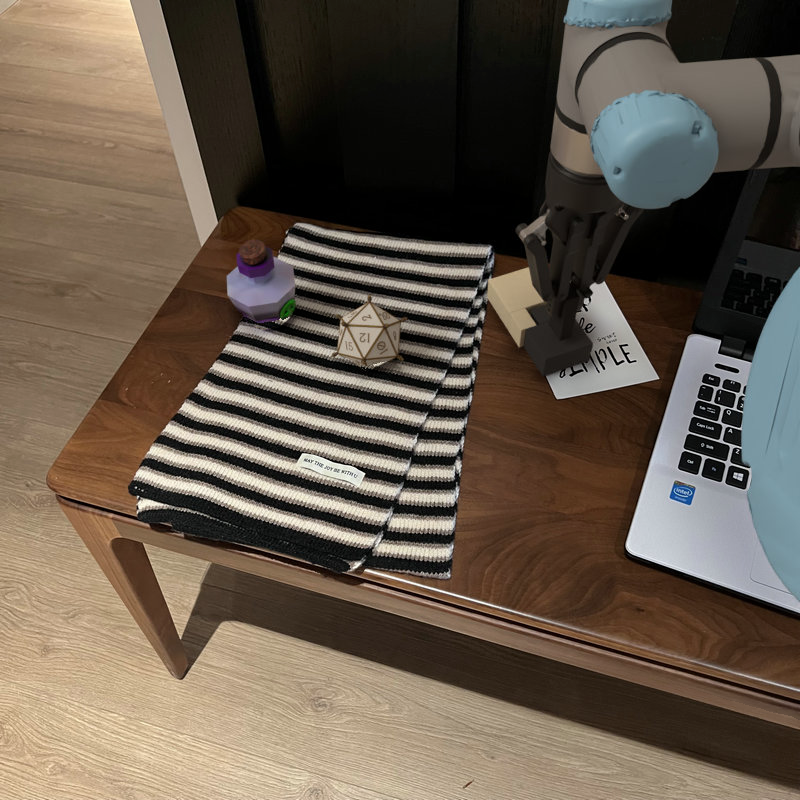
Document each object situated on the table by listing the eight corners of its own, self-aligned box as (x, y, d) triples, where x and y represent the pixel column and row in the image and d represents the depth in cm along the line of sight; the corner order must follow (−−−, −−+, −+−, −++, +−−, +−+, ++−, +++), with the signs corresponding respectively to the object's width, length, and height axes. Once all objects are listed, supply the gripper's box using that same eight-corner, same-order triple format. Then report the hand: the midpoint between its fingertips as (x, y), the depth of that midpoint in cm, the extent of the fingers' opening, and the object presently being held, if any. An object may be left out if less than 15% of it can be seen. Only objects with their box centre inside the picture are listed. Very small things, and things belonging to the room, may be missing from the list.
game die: (369, 366, 97) (370, 286, 94) (420, 379, 92) (423, 294, 89) (315, 378, 91) (315, 293, 88) (367, 393, 85) (369, 302, 82)
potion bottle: (293, 350, 94) (276, 279, 85) (226, 340, 96) (202, 269, 86) (313, 299, 99) (299, 227, 90) (249, 291, 101) (229, 218, 91)
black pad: (588, 365, 91) (593, 343, 88) (542, 381, 90) (545, 359, 87) (557, 322, 95) (561, 299, 92) (513, 336, 94) (515, 314, 91)
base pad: (570, 335, 94) (575, 312, 91) (518, 352, 93) (521, 330, 89) (536, 286, 99) (539, 263, 96) (486, 302, 98) (488, 279, 94)
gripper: (634, 113, 72) (594, 292, 91) (506, 148, 70) (493, 325, 89) (679, 158, 68) (628, 336, 87) (545, 197, 66) (522, 372, 84)
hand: (560, 330), depth 88 cm, fingers closed
